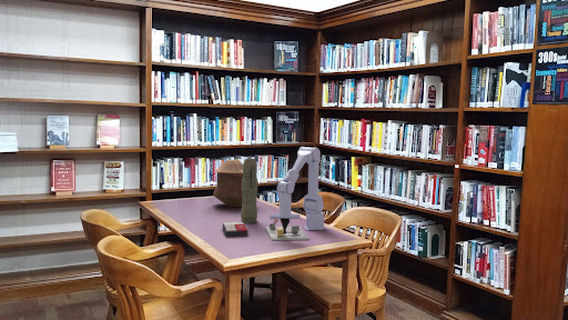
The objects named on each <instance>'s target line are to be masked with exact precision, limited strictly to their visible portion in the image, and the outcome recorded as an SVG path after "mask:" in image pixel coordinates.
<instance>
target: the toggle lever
mask: <svg viewBox="0 0 568 320" xmlns="http://www.w3.org/2000/svg"><path fill="white" fill-rule="evenodd" d="M278 222H279V219H274V220H273V223H272V224H273V225H272V226H276V224H277V223H278Z"/></svg>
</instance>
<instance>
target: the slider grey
mask: <svg viewBox="0 0 568 320" xmlns="http://www.w3.org/2000/svg"><path fill="white" fill-rule="evenodd" d="M290 226H291V231H292V232H298V226H299V225H298V224H297V225H295V224H291V225H290Z"/></svg>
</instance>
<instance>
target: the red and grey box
mask: <svg viewBox="0 0 568 320" xmlns="http://www.w3.org/2000/svg"><path fill="white" fill-rule="evenodd" d="M245 224H246V223H243V222H241V221H240V222H239V221H238V222H235V221H233V222H223V223H222V232H223V234H224V236H225V237H226V238H233V237H234V238H236V237H237V238H238V237H249V230H248V228H247V226H246V225H245Z"/></svg>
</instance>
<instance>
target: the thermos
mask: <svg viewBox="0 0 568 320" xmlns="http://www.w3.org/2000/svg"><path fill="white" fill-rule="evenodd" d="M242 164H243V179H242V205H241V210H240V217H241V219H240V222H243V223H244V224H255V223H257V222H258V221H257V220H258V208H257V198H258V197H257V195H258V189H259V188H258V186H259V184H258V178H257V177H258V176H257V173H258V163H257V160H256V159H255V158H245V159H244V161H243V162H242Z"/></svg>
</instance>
